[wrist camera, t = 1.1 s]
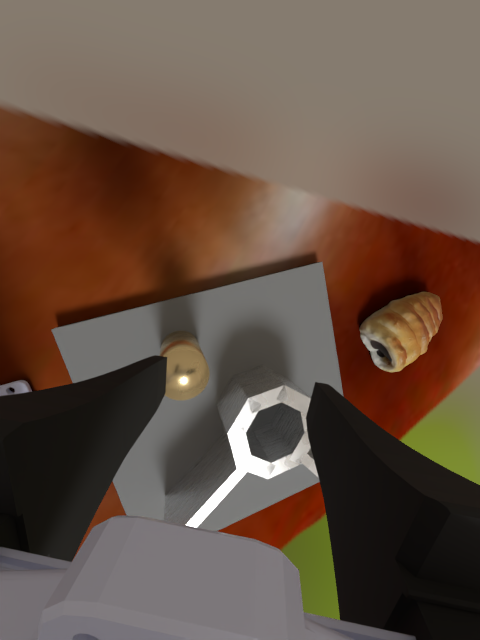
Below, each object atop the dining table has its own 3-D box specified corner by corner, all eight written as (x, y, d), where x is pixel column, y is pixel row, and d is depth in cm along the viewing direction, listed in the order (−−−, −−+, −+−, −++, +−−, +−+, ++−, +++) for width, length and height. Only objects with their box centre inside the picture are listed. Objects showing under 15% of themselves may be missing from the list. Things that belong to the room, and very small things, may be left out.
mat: (147, 552, 22) (146, 564, 21) (57, 327, 18) (51, 329, 17) (347, 458, 27) (354, 464, 26) (315, 262, 23) (322, 261, 22)
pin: (167, 371, 19) (164, 407, 14) (156, 336, 19) (148, 359, 13) (203, 360, 20) (215, 390, 14) (193, 326, 19) (202, 343, 14)
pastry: (413, 275, 26) (452, 274, 23) (433, 324, 28) (472, 331, 25) (350, 325, 25) (381, 332, 21) (375, 373, 27) (407, 388, 23)
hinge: (179, 536, 22) (181, 598, 17) (133, 408, 19) (122, 444, 15) (327, 466, 25) (359, 504, 21) (305, 350, 23) (336, 365, 18)
